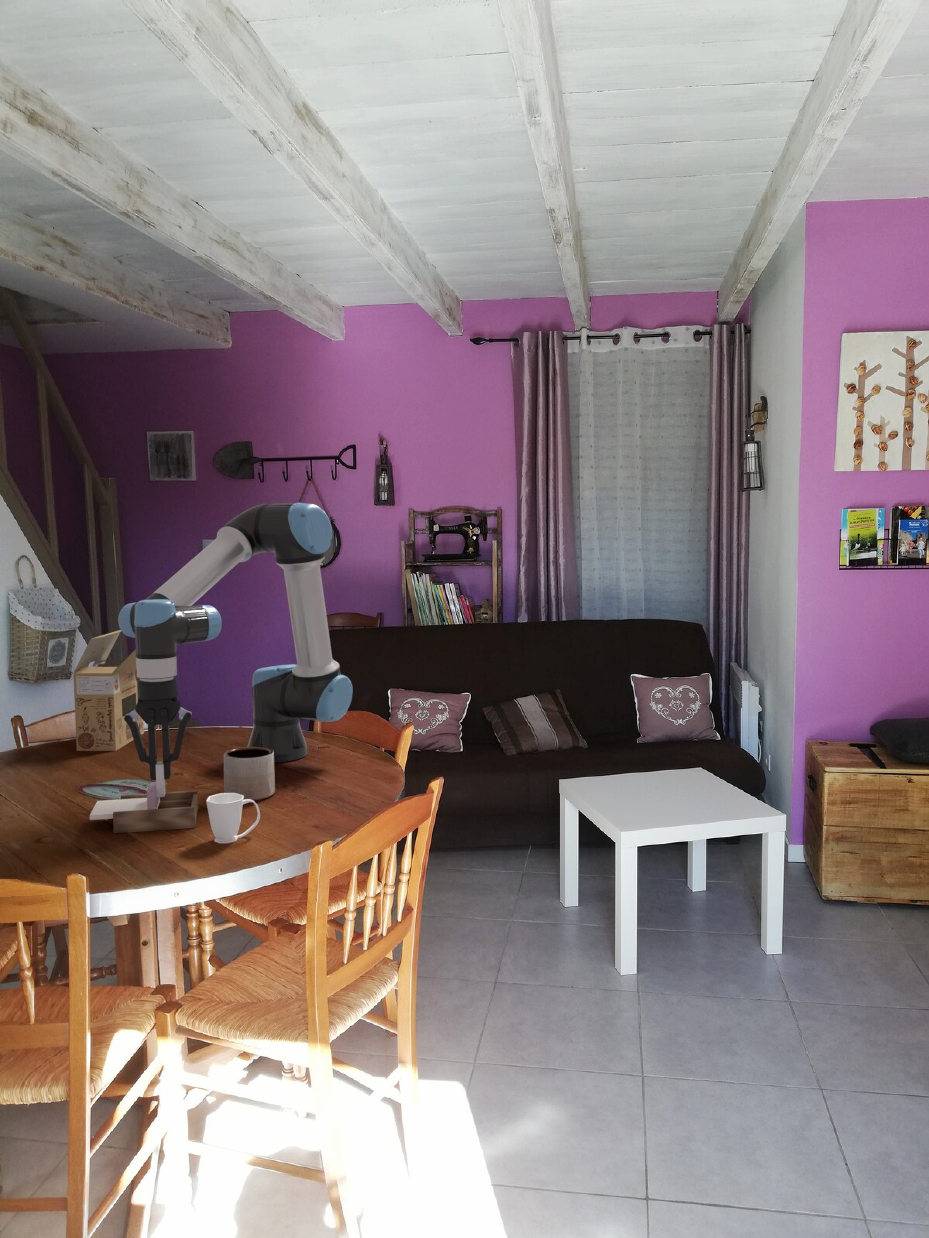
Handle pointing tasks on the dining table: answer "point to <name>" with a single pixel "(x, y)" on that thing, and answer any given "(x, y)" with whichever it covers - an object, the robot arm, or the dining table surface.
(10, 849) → the dining table surface
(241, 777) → the planter
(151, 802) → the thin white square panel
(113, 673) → the box
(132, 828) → the pencil case
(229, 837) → the cup
